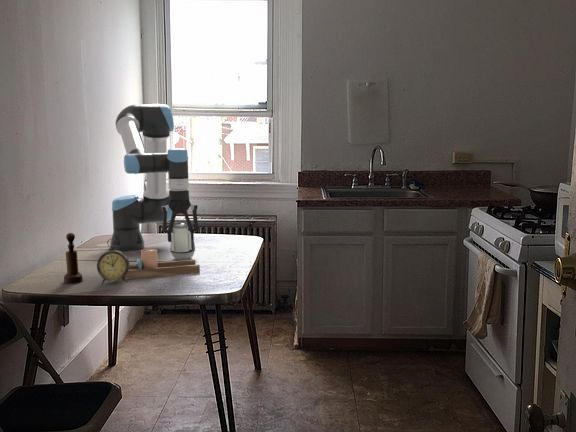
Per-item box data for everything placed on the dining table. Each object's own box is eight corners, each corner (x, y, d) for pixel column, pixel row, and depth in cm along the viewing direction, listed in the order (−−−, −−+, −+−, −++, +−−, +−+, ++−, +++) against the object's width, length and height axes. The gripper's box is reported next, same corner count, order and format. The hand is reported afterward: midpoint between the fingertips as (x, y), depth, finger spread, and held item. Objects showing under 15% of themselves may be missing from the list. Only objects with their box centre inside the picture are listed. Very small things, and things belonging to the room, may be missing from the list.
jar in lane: (141, 272, 263) (140, 249, 261) (157, 271, 265) (156, 248, 263) (142, 276, 257) (141, 252, 256) (159, 274, 259) (158, 251, 258)
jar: (172, 249, 265) (171, 224, 264) (187, 248, 267) (186, 223, 265) (174, 252, 259) (173, 227, 258) (190, 251, 261) (189, 226, 260)
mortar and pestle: (63, 280, 252) (60, 232, 250) (81, 278, 255) (78, 230, 252) (65, 284, 246) (61, 235, 244) (83, 282, 249) (80, 233, 246)
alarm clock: (97, 285, 245) (95, 240, 242) (100, 281, 250) (97, 237, 248) (128, 284, 246) (126, 239, 243) (130, 280, 251) (128, 236, 249)
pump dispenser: (191, 262, 279) (189, 225, 277) (167, 261, 282) (165, 224, 279) (199, 256, 289) (198, 221, 287) (176, 256, 291) (174, 220, 289)
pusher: (121, 272, 261) (120, 259, 260) (140, 271, 263) (139, 258, 262) (122, 277, 254) (121, 263, 253) (142, 275, 256) (141, 262, 256)
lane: (119, 273, 262) (119, 265, 262) (194, 266, 271) (194, 259, 271) (121, 279, 253) (121, 271, 252) (199, 272, 261) (199, 265, 261)
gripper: (154, 191, 253) (157, 253, 257) (205, 189, 259) (207, 249, 262) (152, 189, 260) (155, 249, 264) (201, 187, 266) (203, 246, 269)
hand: (181, 249), depth 263 cm, fingers closed on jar, 6 cm apart
